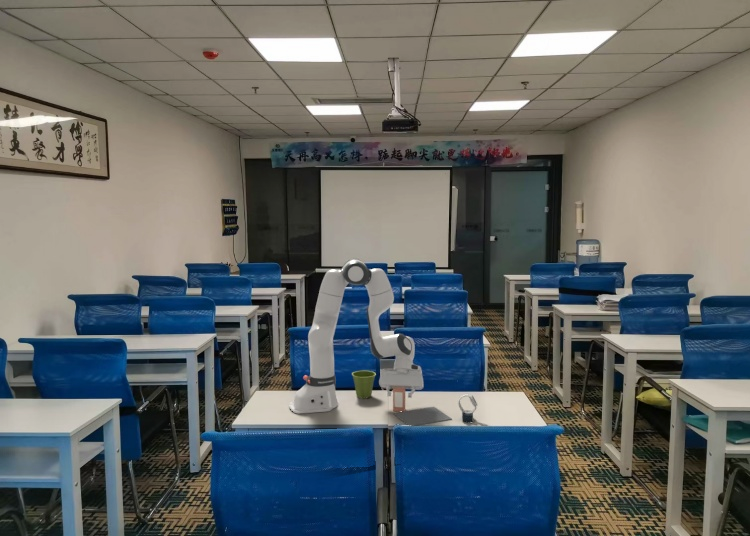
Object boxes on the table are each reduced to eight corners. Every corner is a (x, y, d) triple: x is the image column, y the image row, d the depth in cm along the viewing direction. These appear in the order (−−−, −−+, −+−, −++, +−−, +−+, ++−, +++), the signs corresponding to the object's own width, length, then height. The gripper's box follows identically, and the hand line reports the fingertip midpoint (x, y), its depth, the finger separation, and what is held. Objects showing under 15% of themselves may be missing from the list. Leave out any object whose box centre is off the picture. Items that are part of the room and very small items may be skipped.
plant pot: (378, 399, 241) (378, 376, 240) (354, 401, 238) (354, 378, 237) (373, 391, 252) (373, 369, 251) (350, 393, 250) (349, 371, 249)
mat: (409, 426, 207) (409, 425, 207) (393, 413, 222) (393, 412, 222) (451, 419, 214) (451, 418, 214) (433, 407, 229) (433, 406, 229)
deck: (394, 408, 228) (394, 387, 227) (405, 409, 227) (405, 387, 226) (393, 411, 225) (393, 389, 224) (404, 411, 224) (404, 390, 223)
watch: (477, 422, 210) (477, 397, 209) (458, 422, 211) (458, 396, 210) (476, 417, 216) (477, 392, 215) (458, 417, 217) (458, 392, 216)
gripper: (380, 364, 234) (375, 391, 225) (423, 366, 229) (420, 394, 221) (382, 371, 239) (378, 398, 230) (425, 373, 234) (422, 401, 225)
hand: (399, 396), depth 225 cm, fingers open, 8 cm apart
